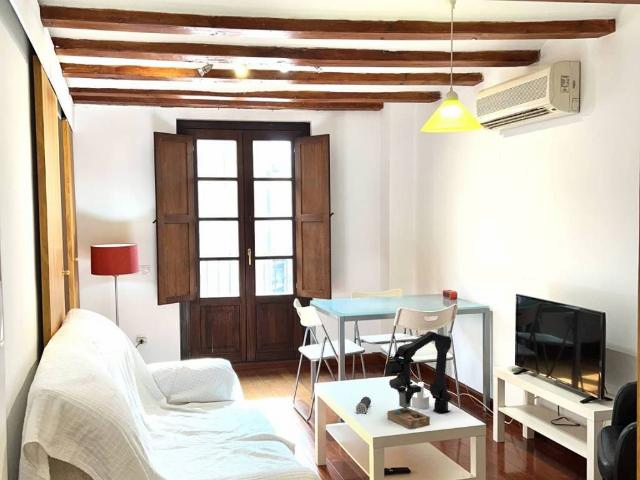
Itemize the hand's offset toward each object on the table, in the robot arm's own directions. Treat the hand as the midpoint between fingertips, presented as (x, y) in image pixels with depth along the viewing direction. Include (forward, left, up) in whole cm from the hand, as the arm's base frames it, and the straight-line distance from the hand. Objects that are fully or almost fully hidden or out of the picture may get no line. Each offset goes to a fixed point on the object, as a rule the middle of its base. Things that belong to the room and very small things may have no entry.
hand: (405, 402), depth 324 cm
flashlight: (+8, -24, -9) cm, 27 cm away
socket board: (+1, +4, -8) cm, 9 cm away
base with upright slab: (-20, -12, -9) cm, 25 cm away
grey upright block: (0, 0, -2) cm, 2 cm away
